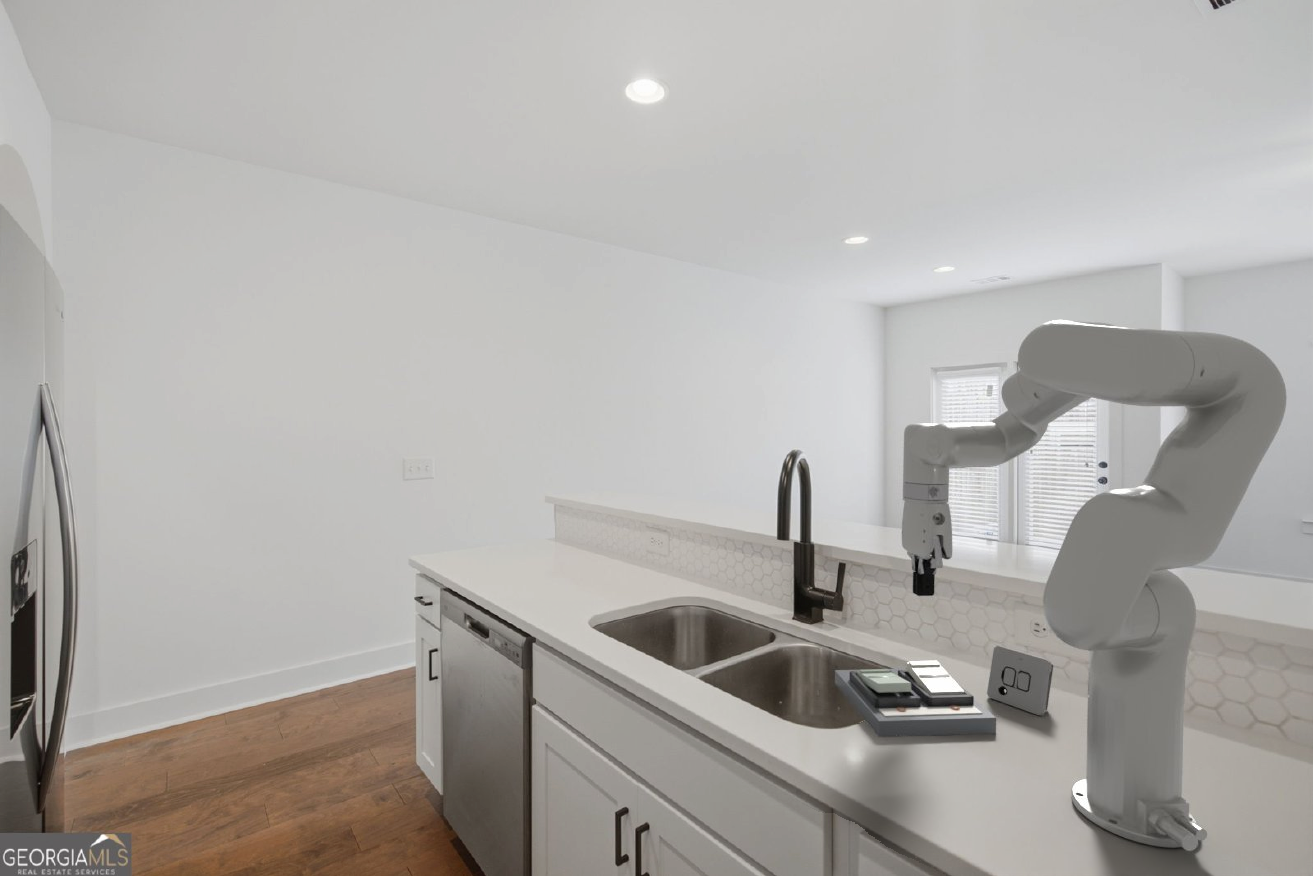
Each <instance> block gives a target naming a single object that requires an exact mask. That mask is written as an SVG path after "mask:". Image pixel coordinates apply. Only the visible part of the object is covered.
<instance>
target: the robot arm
mask: <svg viewBox="0 0 1313 876" xmlns="http://www.w3.org/2000/svg"><path fill="white" fill-rule="evenodd" d="M1017 364H1018V367H1019V368H1018V369H1019V370H1018V371H1016V372H1015V373H1013V374H1011V375H1010V376H1009V377H1008V378H1006V379H1005V380H1004V382H1003V384H1002V386H1001V393H1000V394H1001V399H1002V402H1003V404H1004V406H1005V408H1006V409H1007V410H1006V411H1005V412H1003V413H1002V414H1000V415H999V416H997V417H995V418H994V419H992V420H990V421H988V422H942V423H929V422H928V423H927V422H926V423H922V422H921V423H910V424H908V425H907V426H906V427H905V428H904V431H903V462H902V463H903V465H902V468H903V469H902V474H903V475H902V500H903V501H904V503H903V510H902V511H903V512H902V520H901V521H902V523H901V545H902V548H903V549H904V550H905V551H906V555H907V556H908V557H909V558H910V559H911V570H912V594H914V595H916V596H918V597H924V596H925V597H932V596H935V580H936V579H935V577H936V573H937V569H942V568H944V564H943V559H944V560H951V558H952V557H953V527H952V526H953V524H952V515H951V510H950V509H951V508H950V505H949V502H950V501H949V496H950V495H949V494H950V492H949V490H950V469H966V468H992V467H996V466H1000V465H1003V464H1005V463H1007V462H1009V461H1011V460H1013V459H1015V458H1016V457H1018V456H1020V455H1022V454H1024V453H1026V452H1027V451H1029V450H1030V449H1032V448H1033V447H1034V446H1036V445H1037V444H1038V443H1039V442H1040V441H1041V439H1042V438H1043V436H1044V435H1045V433H1046V431H1047V430H1048V427H1049V424H1050V423H1052V422H1054V421H1055V420H1057V419H1058V418H1060V417H1061V416H1064V414H1066V413H1067V412H1069V411H1071V410H1072V409H1075V408H1076V407H1078V406H1080V405H1082V404H1083V403H1084V402H1086V401H1088V400H1090V399H1098V400H1102V401H1106V402H1110V403H1117V404H1122V405H1129V406H1138V407H1185V409H1186V414H1185V416H1184V417H1183V419H1182V420H1181V421H1180V422H1179V423H1178V424H1177V425H1176V427H1175V428H1173V430H1172V431H1171V432H1170V433H1169V434H1168V435H1167V437H1166V438H1165V439H1164V441H1163V442H1162V444H1161V445H1160V447H1159V449H1158V451H1157V454H1156V456H1155V459H1154V461H1153V464H1152V466H1151V467H1150V469H1149V470H1148V473H1147V475H1146V477H1145V478H1144V480H1143V481H1142V483H1141V484H1140V485H1139V486H1136V487H1129V488H1126V487H1125V488H1118V489H1117V488H1116V489H1111V490H1107V491H1104V492H1101V493H1099V494H1096V495H1095V496H1093V497H1091V498H1090V499H1089V500H1087V501H1086V502H1085V503H1084V504H1083V505H1082V506H1081V507H1080V509H1079V510H1078V511H1077V512H1076V514H1075V516H1073V519H1072V520H1071V523H1070V525H1069V527H1068V530H1067V532H1066V534H1065V537H1064V539H1063V542H1062V543H1061V545H1060V549H1059V552H1058V553H1057V556H1056V557H1055V558H1056V559H1055V561H1054V563H1053V566H1052V569H1051V571H1050V574H1049V575H1048V578H1047V581H1046V583H1045V587H1044V591H1043V596H1042V608H1043V615H1044V618H1045V620H1046V623H1047V625H1048V627H1049V628H1050V629H1051V631H1052V633H1053V634H1054V635H1055V636H1056V637H1057V638H1058V639H1059V640H1060V641H1062V642H1063V643H1064V644H1066V645H1068V646H1070V647H1073V648H1075V649H1078V650H1083V651H1091V653H1090V659H1089V665H1088V681H1087V682H1088V683H1087V715H1086V716H1087V717H1086V718H1087V719H1086V720H1087V723H1086V724H1087V725H1086V727H1087V729H1086V766H1085V768H1086V770H1085V772H1086V773H1085V774H1086V776H1085V778H1084V779H1081V780H1079V781H1076V782H1075V783H1074V784H1073V785H1072V787H1071V801H1072V804H1073V805H1074V806H1075V808H1076V809H1077V810H1078V811H1079V812H1080V813H1081V814H1082V815H1083V816H1085V818H1087V819H1088V820H1089V821H1091V822H1092V823H1094V824H1095V825H1097V826H1099V827H1100V828H1102V829H1104V830H1106V831H1108V832H1109V833H1112V834H1114V835H1117V836H1119V837H1122V838H1123V839H1126V840H1130V841H1133V842H1136V843H1140V844H1144V845H1148V846H1153V847H1161V848H1171V849H1172V848H1173V849H1174V848H1175V849H1176V848H1182V849H1184V850H1185V851H1187V852H1193V851H1194V850H1196V848H1197V847H1198V845H1199V841H1205V840H1206V839H1207V837H1208V832H1207V830H1206V829H1205V828H1203V827H1202V826H1200V825H1198V822H1197V820H1196V818H1195V817H1194V816H1193V815H1192V814H1191V813H1190V802H1189V801H1187V800H1186V799H1185V798H1184V797H1183V766H1184V765H1183V760H1184V759H1183V758H1184V756H1183V755H1184V721H1185V720H1184V717H1185V716H1184V715H1185V713H1184V712H1185V711H1184V709H1185V699H1186V697H1185V696H1186V695H1185V693H1186V691H1185V690H1186V677H1187V675H1186V674H1187V666H1188V665H1187V663H1188V658H1189V653H1190V648H1191V644H1192V640H1193V637H1194V632H1195V628H1196V622H1197V609H1196V603H1195V599H1194V596H1193V594H1192V592H1191V590H1190V589H1189V587H1188V586H1187V584H1186V583H1185V582H1184V581H1183V580H1182V579H1181V578H1180V577H1179V576H1178V575H1177V574H1175V573H1173V571H1170V570H1174V569H1181V568H1188V567H1192V566H1196V565H1199V564H1201V563H1203V562H1205V561H1207V560H1209V559H1210V557H1212V556H1213V554H1214V553H1215V552H1216V550H1217V549H1218V547H1219V545H1220V544H1221V541H1222V540H1223V538H1224V535H1225V534H1226V531H1227V529H1228V528H1229V525H1230V524H1231V522H1232V520H1233V517H1234V516H1235V514H1236V511H1237V510H1238V508H1239V506H1240V504H1241V502H1242V501H1243V498H1244V496H1245V495H1246V492H1247V491H1248V489H1249V486H1250V484H1251V481H1252V480H1253V477H1254V475H1255V473H1256V471H1257V469H1258V467H1259V466H1260V464H1261V462H1262V461H1263V459H1264V457H1265V455H1266V453H1267V452H1268V450H1269V448H1270V446H1271V445H1272V443H1273V441H1274V439H1275V437H1276V436H1277V434H1278V432H1279V429H1280V428H1281V424H1282V422H1283V419H1284V416H1285V413H1286V407H1287V389H1286V385H1285V380H1284V378H1283V375H1282V373H1281V371H1280V370H1279V368H1278V367H1277V365H1276V364H1275V363H1274V361H1272V359H1271V357H1269V356H1268V355H1267V354H1266V353H1265V352H1263V351H1262V350H1260V349H1259V348H1258V347H1256V346H1254V345H1253V344H1251V343H1249V342H1247V341H1245V340H1242V339H1240V338H1236V337H1232V336H1229V335H1225V334H1220V333H1216V332H1215V333H1214V332H1205V331H1182V330H1181V331H1180V330H1166V329H1151V328H1140V327H1139V328H1137V327H1127V326H1126V327H1125V326H1117V325H1114V324H1111V323H1107V322H1099V321H1085V320H1084V321H1083V320H1070V319H1067V320H1066V319H1064V320H1063V319H1057V320H1052V321H1048V322H1044V323H1042V324H1040V325H1039V326H1037V327H1035V328H1034V329H1032V330H1031V331H1030V332H1029V333H1028V334H1027V336H1026V337H1025V338H1024V339H1023V340H1022V342H1021V344H1020V347H1019V349H1018V353H1017Z"/></svg>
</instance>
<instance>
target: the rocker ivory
mask: <svg viewBox="0 0 1313 876" xmlns="http://www.w3.org/2000/svg"><path fill="white" fill-rule="evenodd" d="M906 670H907V671H908V672H909V673H910V675H911V676H912V677H913V678H914V680H915V681H916V682H917V683H918V685H919V686H920V687H921V688H922V689H923V690H924V691H926V692H927V693H928V694H929V695H964V691H963V690H962V688H963V687H962V686H961V685H960V686H961V687H962V688H961V687H960V686H959V684H958V682H956V680H955V679H954V678H952V676H951V675H950V674H949V673H948V672H947V670H946V669H945V668H944V667H943V666H942V665H941V663H940V662H939V661H938V660H914V661H913V660H911V661H910V660H909V661H908V662H906Z"/></svg>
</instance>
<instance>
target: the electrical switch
mask: <svg viewBox="0 0 1313 876" xmlns="http://www.w3.org/2000/svg"><path fill="white" fill-rule="evenodd" d="M992 653H993V654H992V659H991V665H990V672H989V677H988V684H987V692H986V694H987V696H988V697H989V699H993V700H994V701H998V702H1000V703H1003V704H1005V705H1006V704H1007V705H1009V706H1012V707H1014V708H1018V709H1020V710H1023V711H1026V712H1029V713H1032V714H1034V715H1037V716H1041V717H1042V716H1044V715H1045V713H1046V711H1048V706H1049V700H1050V692H1051V684H1052V678H1053V672H1054V664H1052V661H1051V660H1050V659H1048V658H1044V657H1040V656H1037V655H1033V654H1029V653H1028V652H1027V653H1026V652H1024V651H1020V650H1017V649H1012V648H1009V647H1006V646H1002V645H996V646H995V647H993V650H992Z"/></svg>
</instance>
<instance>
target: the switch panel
mask: <svg viewBox="0 0 1313 876" xmlns="http://www.w3.org/2000/svg"><path fill="white" fill-rule="evenodd" d="M873 669H874V668H873ZM873 669H865V670H873ZM887 669H888V670H890V672H891V673H893V674H895V675H898V676H899V677H901V678H903V679H905V680H907V681H909V682H910V683H911V691H912V692H877V691H875V690H874V689H872V688H871V687H869V686H867V685H866V684H864V683H863V682H862V680H861V679H860V678H859V677H858V672H859V670H860V669H837V670H834V684H835V685H836V687H837V688H838V689H839V691H841V693H842V694H843V695H844V696H845V698H846V699H847V700H848V701H849V702H850V704H851V705H852V706H853V707H854V708H855V710H856V711H857V712H858V713H859V715H860V716H861V717H862V718H863V719H864V721H865V722H866V723H867V725H868V726H869V727H870V728H871V729H872V730H873V732H874V733H875V734H876V735H877V737H879V738H885V737H917V736H918V737H920V736H946V735H947V736H948V735H949V736H950V735H978V734H979V735H981V734H983V735H985V734H997V717H996V715H994V714H992V713H991V712H990V711H988V710H987V709H986V708H985V707H983V706H982V705H981V704H980V703H978V701H976V700H975V697H974V695H973V694H971V693H970V692H969V691H967V689H965V688H963V687H962V686H961V685H959V684H958V685H959V686H960V687H961V688H962V690H963V691H964V695H929V694H928V693H927V692H926V691H924V690H923V689H922V688H921V687H920V686H919V685H918V683H917V682H916V681H915V680H914V678H913V677H912V676H911V675H910V673H909V672H908V671H907V670H906V668H887Z"/></svg>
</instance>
